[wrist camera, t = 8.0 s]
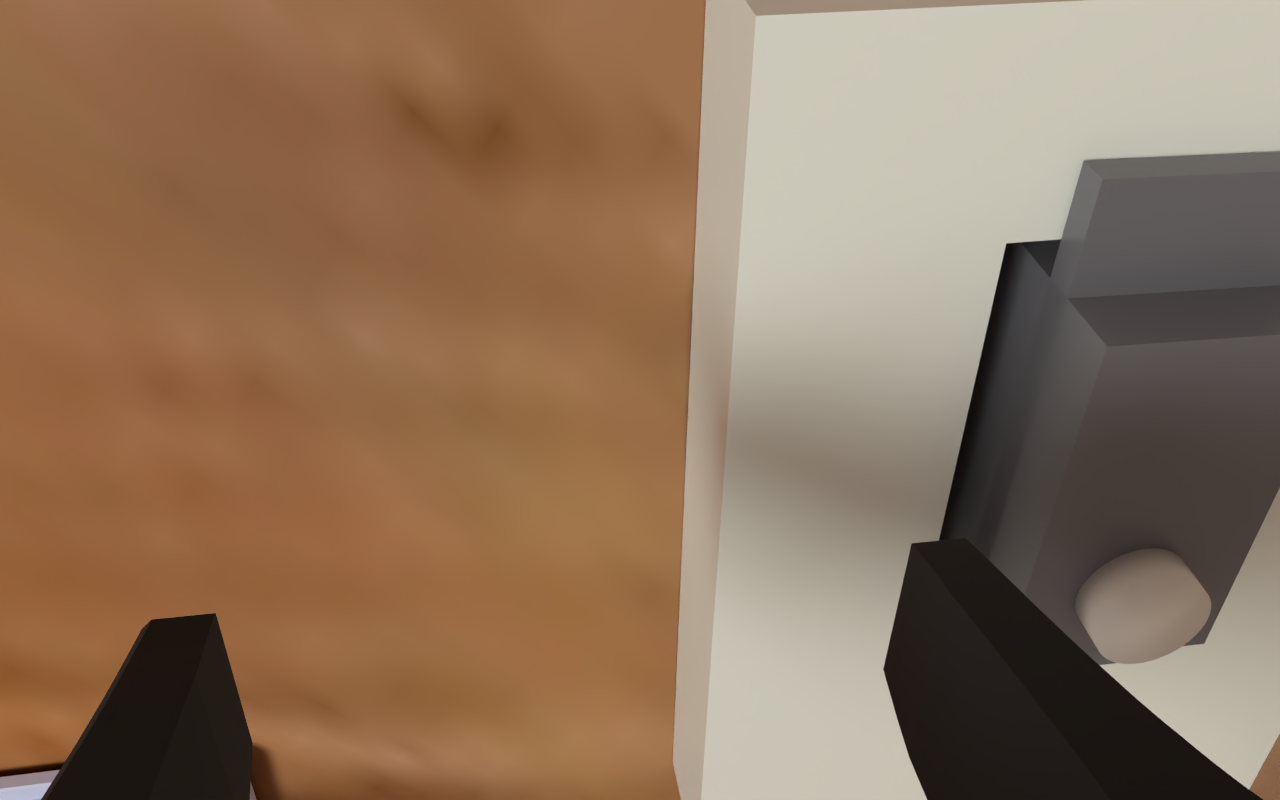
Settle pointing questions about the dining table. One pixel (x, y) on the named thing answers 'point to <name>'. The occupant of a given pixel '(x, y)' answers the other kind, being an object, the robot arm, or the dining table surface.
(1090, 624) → the block
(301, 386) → the dining table surface
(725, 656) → the chassis
